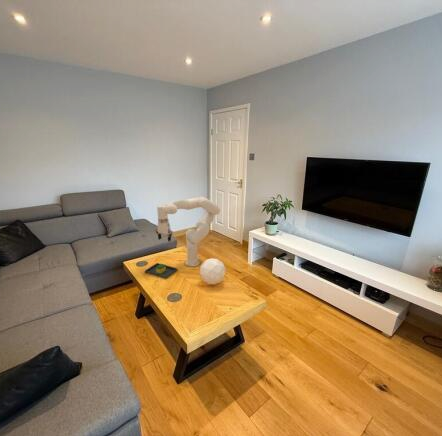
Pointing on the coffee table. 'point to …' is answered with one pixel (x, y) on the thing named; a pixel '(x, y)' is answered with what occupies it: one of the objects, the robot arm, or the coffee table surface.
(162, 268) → the sponge
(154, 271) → the tray
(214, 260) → the geometric sphere
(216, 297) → the coffee table surface
